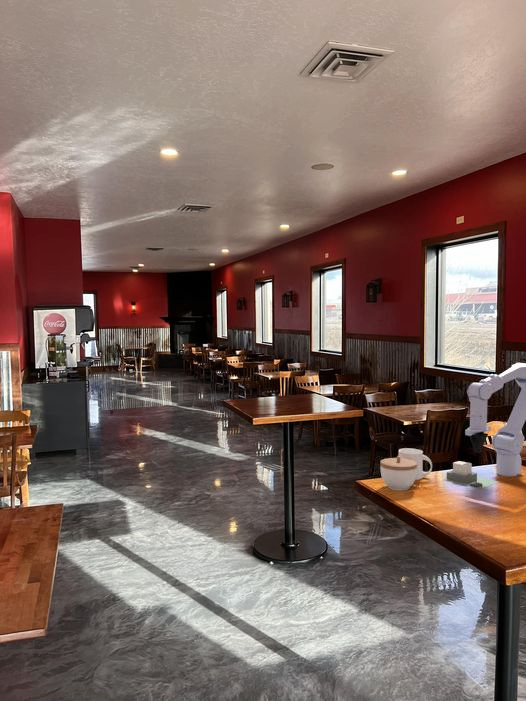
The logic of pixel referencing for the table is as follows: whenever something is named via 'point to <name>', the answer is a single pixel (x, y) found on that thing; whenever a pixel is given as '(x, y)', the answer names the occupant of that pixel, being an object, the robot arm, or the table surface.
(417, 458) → the mug
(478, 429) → the robot arm
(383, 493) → the table surface
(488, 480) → the board
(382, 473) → the lidded bowl
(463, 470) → the plug
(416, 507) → the table surface
